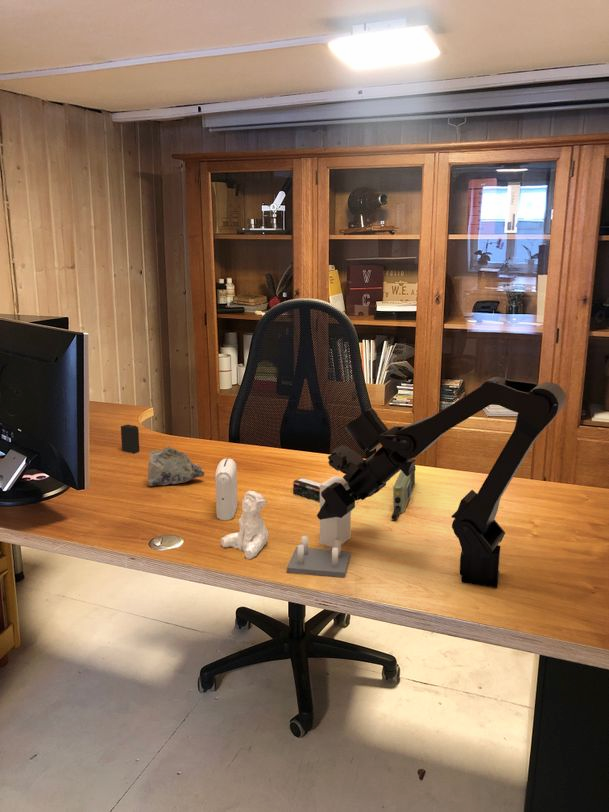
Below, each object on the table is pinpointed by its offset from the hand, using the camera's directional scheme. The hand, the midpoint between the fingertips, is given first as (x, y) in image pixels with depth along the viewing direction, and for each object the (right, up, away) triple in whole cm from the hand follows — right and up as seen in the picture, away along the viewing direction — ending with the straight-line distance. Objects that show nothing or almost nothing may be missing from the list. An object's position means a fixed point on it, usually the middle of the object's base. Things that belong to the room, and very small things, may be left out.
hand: (329, 509), depth 139 cm
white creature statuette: (-17, -7, -1) cm, 18 cm away
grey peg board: (-2, -9, -9) cm, 13 cm away
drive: (+1, -7, +1) cm, 7 cm away
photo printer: (-23, -3, +16) cm, 28 cm away
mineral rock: (-39, +1, +34) cm, 52 cm away
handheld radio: (+18, -2, +22) cm, 29 cm away
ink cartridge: (-57, +8, +61) cm, 84 cm away
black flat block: (-2, -1, +26) cm, 26 cm away
